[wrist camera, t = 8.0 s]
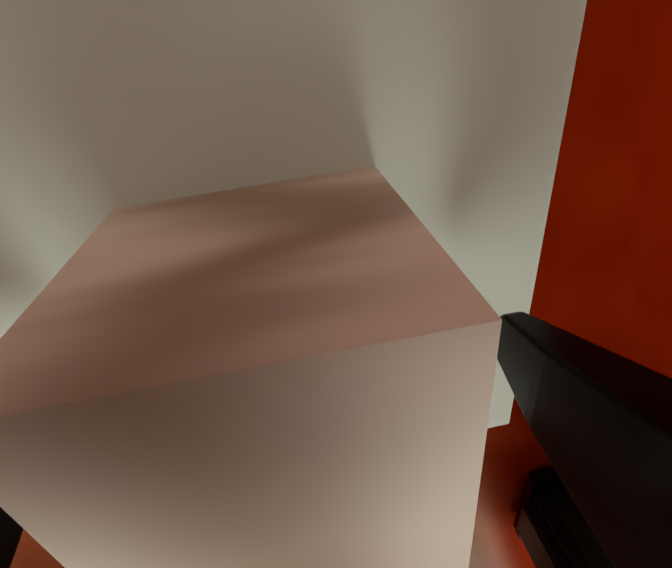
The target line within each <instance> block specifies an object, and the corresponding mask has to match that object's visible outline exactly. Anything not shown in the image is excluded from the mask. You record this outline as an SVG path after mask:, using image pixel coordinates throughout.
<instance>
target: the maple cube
mask: <svg viewBox="0 0 672 568" xmlns="http://www.w3.org/2000/svg"><path fill="white" fill-rule="evenodd" d="M501 325H502V319H501V318H500V317H499V315H498V314H497V313H496V312H495V311H494V309H493V308H492V307H491V306H490V305H489V303H488V302H487V301H486V300H485V299H484V297H483V296H482V295H481V294H480V292H479V291H478V290H477V289H476V288H475V286H474V285H473V284H472V283H471V282H470V280H469V279H468V278H467V277H466V276H465V274H464V273H463V272H462V271H461V269H460V268H459V267H458V266H457V265H456V263H455V262H454V261H453V260H452V259H451V257H450V256H449V255H448V254H447V253H446V251H445V250H444V249H443V248H442V246H441V245H440V244H439V243H438V242H437V240H436V239H435V238H434V237H433V236H432V234H431V233H430V232H429V231H428V230H427V228H426V227H425V226H424V225H423V223H422V222H421V221H420V220H419V219H418V217H417V216H416V215H415V214H414V213H413V211H412V210H411V209H410V208H409V207H408V205H407V204H406V203H405V202H404V200H403V199H402V198H401V197H400V196H399V194H398V193H397V192H396V191H395V190H394V188H393V187H392V186H391V185H390V184H389V182H388V181H387V180H386V179H385V177H384V176H383V175H382V174H381V173H380V171H379V170H378V169H377V168H376V167H375V166H372V167H366V168H360V169H353V170H347V171H341V172H335V173H329V174H323V175H317V176H310V177H304V178H298V179H292V180H286V181H280V182H274V183H268V184H261V185H255V186H249V187H243V188H237V189H231V190H225V191H218V192H212V193H206V194H200V195H194V196H188V197H182V198H176V199H169V200H163V201H157V202H151V203H145V204H139V205H133V206H126V207H120V208H114V209H113V210H112V211H111V212H110V213H109V214H108V215H107V217H106V218H105V219H104V220H103V221H102V222H101V223H100V225H99V226H98V227H97V228H96V229H95V230H94V232H93V233H92V234H91V235H90V236H89V237H88V238H87V240H86V241H85V242H84V243H83V244H82V245H81V246H80V248H79V249H78V250H77V251H76V252H75V253H74V255H73V256H72V257H71V258H70V259H69V260H68V261H67V263H66V264H65V265H64V266H63V267H62V268H61V269H60V271H59V272H58V273H57V274H56V275H55V276H54V278H53V279H52V280H51V281H50V282H49V283H48V284H47V286H46V287H45V288H44V289H43V290H42V291H41V292H40V294H39V295H38V296H37V297H36V298H35V299H34V301H33V302H32V303H31V304H30V305H29V306H28V307H27V309H26V310H25V311H24V312H23V313H22V314H21V315H20V317H19V318H18V319H17V320H16V321H15V322H14V324H13V325H12V326H11V327H10V328H9V329H8V330H7V332H6V333H5V334H4V335H3V336H2V337H1V338H0V507H1V508H2V509H3V510H4V511H5V512H6V513H7V514H9V515H10V516H11V517H12V518H13V519H14V520H15V521H16V522H17V523H18V524H19V525H20V526H21V527H22V528H23V529H24V530H26V531H27V532H28V533H29V534H30V535H31V536H32V537H33V538H34V539H35V540H36V541H37V542H38V543H39V544H40V545H41V546H43V547H44V548H45V549H46V550H47V551H48V552H49V553H50V554H51V555H52V556H53V557H54V558H55V559H56V560H57V561H58V562H59V563H61V564H62V565H63V566H64V567H65V568H469V561H470V553H471V546H472V539H473V531H474V524H475V516H476V509H477V502H478V494H479V487H480V480H481V472H482V465H483V457H484V450H485V443H486V435H487V428H488V421H489V413H490V406H491V398H492V391H493V384H494V376H495V369H496V362H497V354H498V347H499V339H500V332H501Z"/></svg>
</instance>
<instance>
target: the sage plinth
mask: <svg viewBox="0 0 672 568" xmlns="http://www.w3.org/2000/svg"><path fill="white" fill-rule="evenodd" d="M586 4H587V0H0V338H1V337H2V336H3V335H4V334H5V333H6V332H7V330H8V329H9V328H10V327H11V326H12V325H13V324H14V322H15V321H16V320H17V319H18V318H19V317H20V315H21V314H22V313H23V312H24V311H25V310H26V309H27V307H28V306H29V305H30V304H31V303H32V302H33V301H34V299H35V298H36V297H37V296H38V295H39V294H40V292H41V291H42V290H43V289H44V288H45V287H46V286H47V284H48V283H49V282H50V281H51V280H52V279H53V278H54V276H55V275H56V274H57V273H58V272H59V271H60V269H61V268H62V267H63V266H64V265H65V264H66V263H67V261H68V260H69V259H70V258H71V257H72V256H73V255H74V253H75V252H76V251H77V250H78V249H79V248H80V246H81V245H82V244H83V243H84V242H85V241H86V240H87V238H88V237H89V236H90V235H91V234H92V233H93V232H94V230H95V229H96V228H97V227H98V226H99V225H100V223H101V222H102V221H103V220H104V219H105V218H106V217H107V215H108V214H109V213H110V212H111V211H112V210H113V209H114V208H120V207H126V206H133V205H139V204H145V203H151V202H157V201H163V200H169V199H176V198H182V197H188V196H194V195H200V194H206V193H212V192H218V191H225V190H231V189H237V188H243V187H249V186H255V185H261V184H268V183H274V182H280V181H286V180H292V179H298V178H304V177H310V176H317V175H323V174H329V173H335V172H341V171H347V170H353V169H360V168H366V167H372V166H375V167H376V168H377V169H378V170H379V171H380V173H381V174H382V175H383V176H384V177H385V179H386V180H387V181H388V182H389V184H390V185H391V186H392V187H393V188H394V190H395V191H396V192H397V193H398V194H399V196H400V197H401V198H402V199H403V200H404V202H405V203H406V204H407V205H408V207H409V208H410V209H411V210H412V211H413V213H414V214H415V215H416V216H417V217H418V219H419V220H420V221H421V222H422V223H423V225H424V226H425V227H426V228H427V230H428V231H429V232H430V233H431V234H432V236H433V237H434V238H435V239H436V240H437V242H438V243H439V244H440V245H441V246H442V248H443V249H444V250H445V251H446V253H447V254H448V255H449V256H450V257H451V259H452V260H453V261H454V262H455V263H456V265H457V266H458V267H459V268H460V269H461V271H462V272H463V273H464V274H465V276H466V277H467V278H468V279H469V280H470V282H471V283H472V284H473V285H474V286H475V288H476V289H477V290H478V291H479V292H480V294H481V295H482V296H483V297H484V299H485V300H486V301H487V302H488V303H489V305H490V306H491V307H492V308H493V309H494V311H495V312H496V313H497V314H498V315H499V317H500V316H501V315H503V314H507V313H512V312H518V311H521V312H525V313H527V314H529V312H530V307H531V302H532V296H533V291H534V285H535V280H536V275H537V269H538V264H539V258H540V253H541V247H542V242H543V237H544V231H545V226H546V220H547V215H548V209H549V204H550V199H551V193H552V188H553V182H554V177H555V172H556V166H557V161H558V155H559V150H560V144H561V139H562V134H563V128H564V123H565V117H566V112H567V106H568V101H569V96H570V90H571V85H572V79H573V74H574V69H575V63H576V58H577V52H578V47H579V41H580V36H581V31H582V25H583V20H584V14H585V9H586ZM513 399H514V394H513V392H512V389H511V387H510V385H509V383H508V381H507V379H506V377H505V375H504V372H503V370H502V368H501V366H500V364H499V362H498V360H497V362H496V369H495V376H494V384H493V391H492V398H491V406H490V413H489V421H488V428H491V427H496V426H501V425H506V424H509V421H510V415H511V410H512V405H513Z"/></svg>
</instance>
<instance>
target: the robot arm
mask: <svg viewBox="0 0 672 568" xmlns="http://www.w3.org/2000/svg"><path fill="white" fill-rule="evenodd" d="M500 318H501V319H502V325H501V332H500V339H499V347H498V354H497V360H498V362H499V364H500V366H501V368H502V370H503V372H504V375H505V377H506V379H507V381H508V383H509V385H510V387H511V389H512V392H513V394H514V396H515V398H516V400H517V402H518V404H519V406H520V409H521V411H522V413H523V415H524V417H525V419H526V421H527V423H528V425H529V427H530V429H531V430H532V432H533V434H534V436H535V437H536V439H537V441H538V442H539V444H540V446H541V447H542V449H543V450H544V452H545V454H546V455H547V457H548V459H549V460H550V462H551V464H552V465H553V467H554V468H552V469H548V470H543V471H539V472H535V473H534V474H532V475H531V476H530V477H529V479H528V483H527V487H526V491H525V494H524V498H523V502H522V506H521V510H520V514H519V518H518V522H517V526H516V533H517V535H518V537H519V539H522V541H523V543H524V545H525V547H526V549H527V551H528V553H529V555H530V557H531V559H532V561H533V563H534V564H535V566H536V568H672V378H669V377H667V376H665V375H663V374H660V373H658V372H656V371H654V370H652V369H649V368H647V367H645V366H643V365H640V364H638V363H636V362H634V361H632V360H629V359H627V358H625V357H623V356H620V355H618V354H616V353H614V352H612V351H609V350H607V349H605V348H603V347H600V346H598V345H596V344H594V343H592V342H589V341H587V340H585V339H583V338H580V337H578V336H576V335H574V334H572V333H569V332H567V331H565V330H563V329H560V328H558V327H556V326H554V325H551V324H549V323H547V322H545V321H543V320H540V319H538V318H536V317H534V316H531V315H529V314H527V313H525V312H521V311H518V312H512V313H507V314H503V315H501V316H500ZM22 531H23V528H22V527H21V526H20V525H19V524H18V523H17V522H16V521H15V520H14V519H13V518H12V517H11V516H10V515H9V514H7V513H6V512H5V511H4V510H3V509H2V508H1V507H0V568H10V565H11V563H12V560H13V557H14V554H15V552H16V549H17V546H18V543H19V540H20V537H21V534H22Z"/></svg>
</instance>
